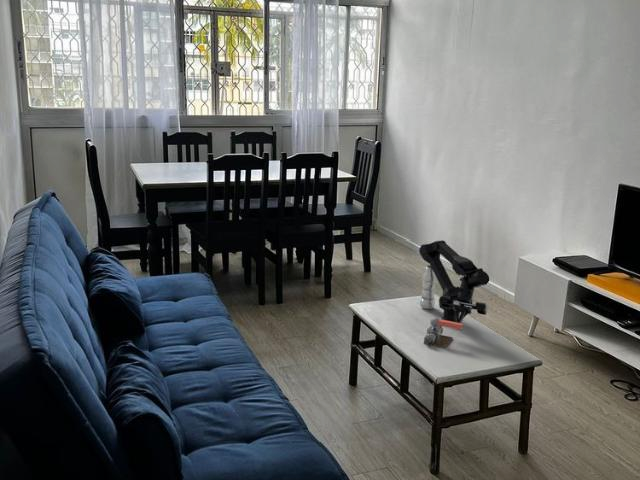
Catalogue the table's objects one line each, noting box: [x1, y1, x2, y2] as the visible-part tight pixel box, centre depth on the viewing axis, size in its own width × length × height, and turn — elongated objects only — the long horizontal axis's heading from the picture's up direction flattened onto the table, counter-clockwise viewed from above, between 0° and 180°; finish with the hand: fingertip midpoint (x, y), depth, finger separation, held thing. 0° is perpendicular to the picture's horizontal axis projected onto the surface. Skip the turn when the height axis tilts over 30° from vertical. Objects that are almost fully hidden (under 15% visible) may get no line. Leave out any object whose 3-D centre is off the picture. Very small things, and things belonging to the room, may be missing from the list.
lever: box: [430, 316, 463, 331], centre depth 247 cm, size 3×13×2 cm, turn 63°
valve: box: [423, 325, 453, 349], centre depth 250 cm, size 12×9×7 cm
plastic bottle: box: [419, 264, 438, 310], centre depth 283 cm, size 6×7×20 cm
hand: (458, 324), depth 249 cm, fingers closed
